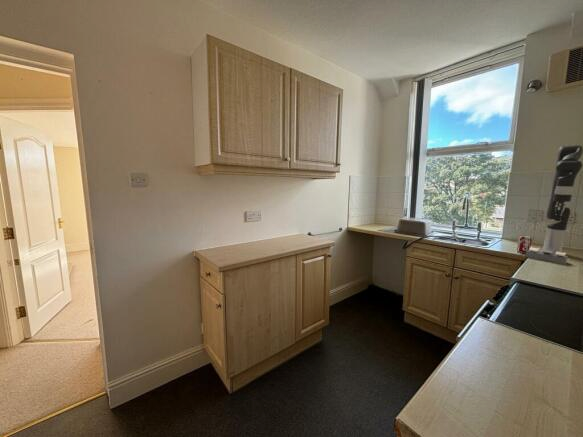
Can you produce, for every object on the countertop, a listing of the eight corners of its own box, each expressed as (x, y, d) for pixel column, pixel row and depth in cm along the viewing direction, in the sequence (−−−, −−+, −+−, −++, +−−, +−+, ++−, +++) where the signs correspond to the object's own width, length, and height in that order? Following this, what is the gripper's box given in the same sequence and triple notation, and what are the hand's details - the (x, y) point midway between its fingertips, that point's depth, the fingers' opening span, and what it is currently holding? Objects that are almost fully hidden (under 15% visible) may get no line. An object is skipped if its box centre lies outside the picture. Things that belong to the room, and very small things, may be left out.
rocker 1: (531, 247, 166) (531, 246, 165) (539, 248, 163) (539, 247, 162) (528, 250, 162) (529, 249, 162) (537, 252, 159) (537, 250, 159)
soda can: (523, 251, 177) (526, 235, 175) (532, 254, 170) (535, 237, 168) (513, 251, 177) (516, 235, 175) (521, 253, 171) (524, 237, 169)
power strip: (527, 255, 168) (529, 248, 167) (566, 262, 154) (568, 255, 153) (525, 257, 163) (526, 250, 162) (565, 264, 149) (566, 257, 148)
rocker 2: (556, 252, 156) (556, 251, 156) (565, 254, 153) (566, 252, 153) (555, 254, 153) (555, 253, 153) (564, 256, 150) (564, 254, 149)
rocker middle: (543, 251, 161) (543, 249, 161) (551, 253, 158) (552, 251, 158) (541, 251, 157) (542, 249, 157) (550, 252, 154) (551, 250, 154)
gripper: (555, 193, 158) (550, 219, 161) (552, 193, 150) (547, 221, 153) (573, 193, 152) (567, 220, 155) (570, 194, 144) (564, 222, 147)
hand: (557, 220), depth 154 cm, fingers closed
